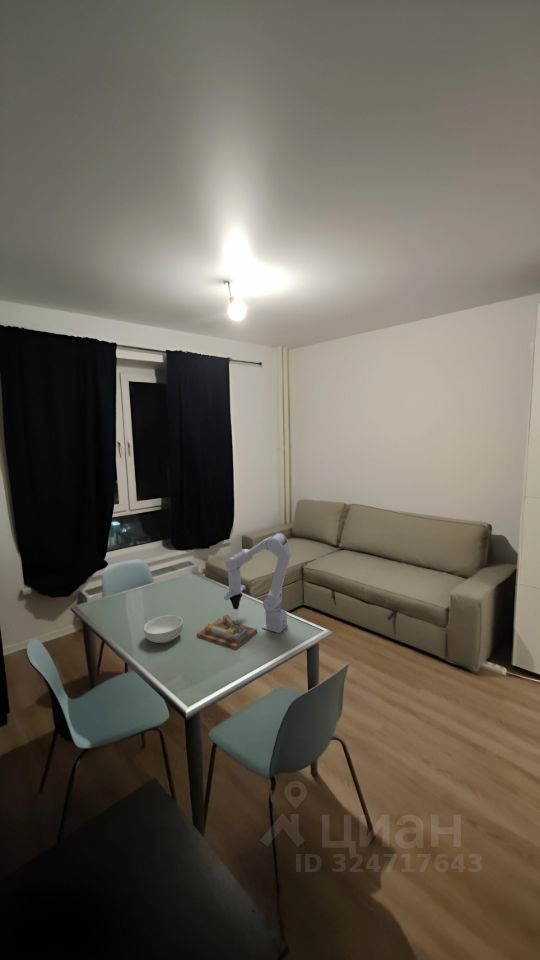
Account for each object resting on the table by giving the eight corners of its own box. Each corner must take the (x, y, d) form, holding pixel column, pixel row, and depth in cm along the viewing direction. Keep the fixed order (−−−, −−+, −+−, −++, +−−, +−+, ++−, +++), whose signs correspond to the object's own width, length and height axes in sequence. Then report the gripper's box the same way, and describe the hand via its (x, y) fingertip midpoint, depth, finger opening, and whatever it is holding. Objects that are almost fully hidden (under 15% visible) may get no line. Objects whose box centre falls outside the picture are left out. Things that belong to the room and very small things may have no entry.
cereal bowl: (169, 625, 184) (168, 611, 183) (191, 636, 173) (190, 621, 172) (137, 640, 171) (136, 625, 170) (159, 653, 160) (158, 637, 159)
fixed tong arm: (248, 635, 169) (247, 629, 168) (238, 643, 163) (238, 636, 162) (215, 625, 178) (215, 619, 178) (205, 632, 173) (205, 626, 172)
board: (257, 632, 174) (256, 629, 174) (235, 649, 161) (235, 646, 160) (219, 621, 186) (219, 618, 186) (196, 636, 172) (196, 633, 172)
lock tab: (236, 630, 167) (236, 628, 166) (231, 634, 164) (231, 632, 163) (231, 628, 168) (231, 626, 168) (226, 632, 165) (225, 630, 165)
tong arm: (243, 637, 167) (243, 630, 167) (238, 638, 166) (237, 632, 166) (228, 620, 183) (228, 614, 183) (223, 621, 182) (223, 615, 182)
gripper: (237, 575, 192) (238, 601, 193) (218, 585, 179) (219, 612, 181) (248, 577, 188) (249, 604, 190) (230, 588, 176) (231, 616, 177)
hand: (235, 608), depth 185 cm, fingers closed
